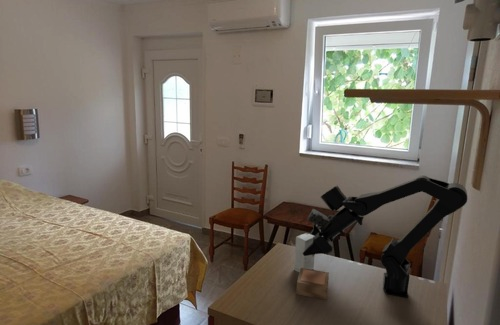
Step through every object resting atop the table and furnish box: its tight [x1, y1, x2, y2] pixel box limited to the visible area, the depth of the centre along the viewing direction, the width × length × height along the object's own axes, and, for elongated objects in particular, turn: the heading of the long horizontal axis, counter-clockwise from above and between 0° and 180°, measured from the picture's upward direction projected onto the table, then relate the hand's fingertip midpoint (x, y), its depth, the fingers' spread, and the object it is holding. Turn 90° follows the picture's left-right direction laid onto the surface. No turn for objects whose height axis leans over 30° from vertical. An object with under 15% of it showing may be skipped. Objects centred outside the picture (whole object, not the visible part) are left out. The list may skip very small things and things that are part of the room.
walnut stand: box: [295, 268, 330, 301], centre depth 103 cm, size 9×9×4 cm
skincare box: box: [293, 232, 316, 274], centre depth 114 cm, size 6×4×12 cm
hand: (303, 248), depth 114 cm, fingers open, 9 cm apart
